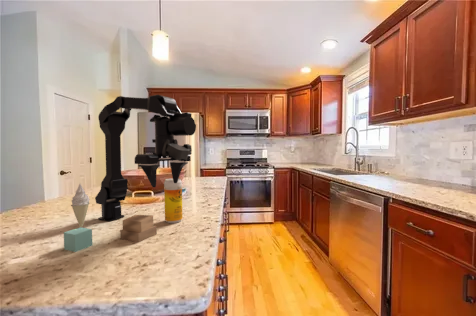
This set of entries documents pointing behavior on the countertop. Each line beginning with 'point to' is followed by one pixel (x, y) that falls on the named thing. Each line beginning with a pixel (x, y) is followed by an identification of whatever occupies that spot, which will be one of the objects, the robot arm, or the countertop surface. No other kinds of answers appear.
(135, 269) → the countertop surface
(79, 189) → the ice cream cone
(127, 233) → the slab lower
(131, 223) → the slab upper
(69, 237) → the teal cube
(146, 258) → the countertop surface
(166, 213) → the beer can
